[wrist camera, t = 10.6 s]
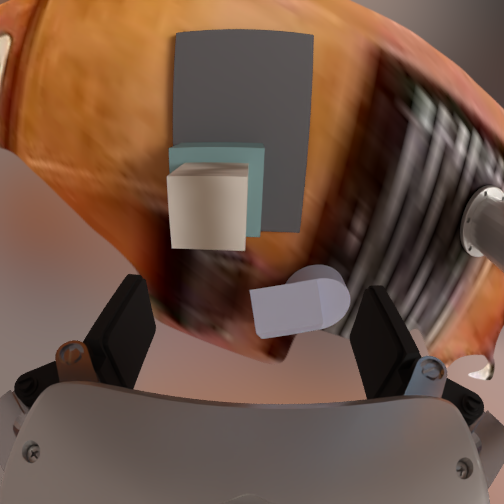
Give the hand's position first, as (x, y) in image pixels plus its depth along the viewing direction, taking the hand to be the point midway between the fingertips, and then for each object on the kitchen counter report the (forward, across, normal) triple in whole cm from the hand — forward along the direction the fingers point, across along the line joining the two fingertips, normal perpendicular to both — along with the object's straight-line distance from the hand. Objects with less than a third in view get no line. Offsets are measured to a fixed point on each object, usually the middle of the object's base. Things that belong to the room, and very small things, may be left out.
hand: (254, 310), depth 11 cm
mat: (+23, +2, -6) cm, 24 cm away
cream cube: (+17, +4, 0) cm, 17 cm away
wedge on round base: (+23, -7, +16) cm, 29 cm away
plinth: (+22, +4, 0) cm, 22 cm away
